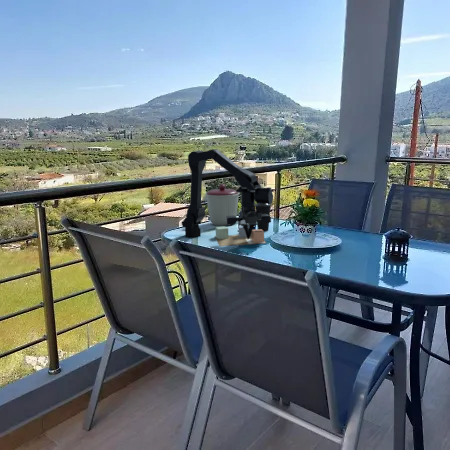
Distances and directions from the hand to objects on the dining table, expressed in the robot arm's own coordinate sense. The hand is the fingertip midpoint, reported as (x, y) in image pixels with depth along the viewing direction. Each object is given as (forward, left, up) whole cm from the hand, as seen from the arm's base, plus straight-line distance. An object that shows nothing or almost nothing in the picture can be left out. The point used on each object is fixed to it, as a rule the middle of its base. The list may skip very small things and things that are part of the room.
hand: (248, 238), depth 174 cm
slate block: (0, +10, -1) cm, 10 cm away
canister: (-5, +43, -3) cm, 43 cm away
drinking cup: (+11, +19, -3) cm, 22 cm away
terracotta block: (+4, 0, -1) cm, 4 cm away
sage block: (-10, +10, -1) cm, 14 cm away
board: (-3, +4, -2) cm, 6 cm away
